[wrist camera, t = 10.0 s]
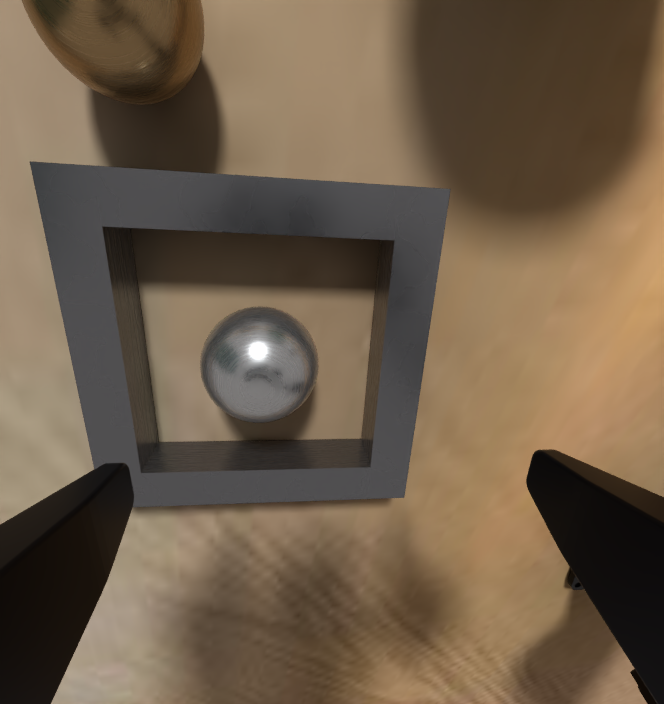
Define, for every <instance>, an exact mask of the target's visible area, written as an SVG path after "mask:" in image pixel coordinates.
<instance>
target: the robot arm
mask: <svg viewBox="0 0 664 704" xmlns="http://www.w3.org/2000/svg"><path fill="white" fill-rule="evenodd" d="M526 483H527V488H528V490H529V492H530V494H531V496H532V498H533V500H534V502H535V504H536V506H537V508H538V510H539V512H540V514H541V515H542V517H543V519H544V521H545V523H546V525H547V527H548V529H549V531H550V533H551V535H552V537H553V539H554V540H555V542H556V544H557V546H558V548H559V550H560V551H561V553H562V555H563V556H564V558H565V560H566V561H567V563H568V565H569V566H570V568H571V569H572V571H571V573H570V576H569V578H568V584H569V585H570V587H571V588H572V589H573V590H582V589H584V590H585V591H586V593H587V594H588V596H589V598H590V599H591V601H592V602H593V604H594V605H595V607H596V609H597V610H598V612H599V613H600V615H601V616H602V618H603V620H604V621H605V623H606V624H607V626H608V627H609V629H610V630H611V632H612V634H613V635H614V637H615V638H616V640H617V641H618V643H619V645H620V646H621V648H622V649H623V651H624V652H625V654H626V656H627V657H628V659H629V660H630V662H631V663H632V665H633V667H634V668H635V669H634V670H632V671H631V674H632V676H633V678H634V679H635V681H636V682H637V684H638V688H639V690H640V692H641V694H642V695H643V697H644V699H645V700H646V702H647V703H648V704H664V497H662V496H659V495H657V494H655V493H653V492H650V491H648V490H646V489H643V488H641V487H639V486H637V485H634V484H632V483H630V482H627V481H625V480H623V479H621V478H618V477H616V476H614V475H611V474H609V473H607V472H605V471H602V470H600V469H598V468H595V467H593V466H591V465H589V464H586V463H584V462H582V461H579V460H577V459H575V458H572V457H570V456H568V455H566V454H563V453H561V452H559V451H556V450H552V449H551V450H537V451H535V452H534V454H533V456H532V460H531V463H530V467H529V471H528V475H527V479H526ZM133 503H134V491H133V486H132V481H131V475H130V470H129V467H128V465H127V464H125V463H106V464H103V465H101V466H99V467H98V468H96V469H94V470H93V471H91V472H89V473H87V474H86V475H84V476H82V477H81V478H79V479H77V480H76V481H74V482H72V483H70V484H69V485H67V486H65V487H64V488H62V489H60V490H59V491H57V492H55V493H53V494H52V495H50V496H48V497H47V498H45V499H43V500H41V501H40V502H38V503H36V504H35V505H33V506H31V507H30V508H28V509H26V510H24V511H23V512H21V513H19V514H18V515H16V516H14V517H13V518H11V519H9V520H7V521H6V522H4V523H2V524H1V525H0V704H51V702H52V700H53V698H54V696H55V693H56V691H57V689H58V687H59V685H60V683H61V680H62V678H63V676H64V674H65V672H66V670H67V667H68V665H69V663H70V661H71V659H72V657H73V654H74V652H75V650H76V648H77V646H78V643H79V641H80V639H81V637H82V635H83V633H84V630H85V628H86V626H87V624H88V622H89V620H90V617H91V615H92V613H93V611H94V609H95V607H96V604H97V602H98V600H99V598H100V596H101V594H102V591H103V589H104V587H105V584H106V582H107V580H108V577H109V574H110V571H111V569H112V566H113V563H114V560H115V557H116V554H117V551H118V548H119V545H120V543H121V540H122V537H123V534H124V531H125V528H126V525H127V522H128V519H129V516H130V513H131V510H132V507H133Z"/></svg>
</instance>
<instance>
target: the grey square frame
mask: <svg viewBox="0 0 664 704" xmlns="http://www.w3.org/2000/svg"><path fill="white" fill-rule="evenodd" d="M30 165H31V170H32V175H33V179H34V184H35V189H36V194H37V198H38V203H39V208H40V213H41V217H42V222H43V227H44V232H45V236H46V241H47V246H48V251H49V255H50V260H51V265H52V270H53V274H54V279H55V284H56V289H57V293H58V298H59V303H60V308H61V312H62V317H63V322H64V327H65V331H66V336H67V341H68V346H69V350H70V355H71V360H72V365H73V370H74V374H75V379H76V384H77V389H78V393H79V398H80V403H81V408H82V412H83V417H84V422H85V427H86V431H87V436H88V441H89V446H90V450H91V455H92V460H93V465H94V469H96V468H98V467H99V466H101V465H103V464H106V463H125V464H127V465H128V467H129V470H130V475H131V481H132V486H133V491H134V503H133V507H153V506H181V505H209V504H238V503H266V502H294V501H322V500H350V499H379V498H404V495H405V489H406V482H407V475H408V469H409V462H410V455H411V449H412V442H413V435H414V429H415V422H416V415H417V409H418V402H419V395H420V389H421V382H422V375H423V369H424V362H425V355H426V349H427V342H428V335H429V329H430V322H431V315H432V309H433V302H434V295H435V289H436V282H437V275H438V269H439V262H440V256H441V249H442V242H443V236H444V229H445V222H446V216H447V209H448V202H449V196H450V189H441V188H426V187H410V186H395V185H380V184H365V183H349V182H334V181H319V180H303V179H288V178H273V177H258V176H242V175H227V174H212V173H197V172H181V171H166V170H151V169H135V168H120V167H105V166H90V165H74V164H59V163H44V162H30ZM130 228H145V229H166V230H187V231H208V232H229V233H250V234H271V235H292V236H313V237H334V238H355V239H376V240H380V247H379V257H378V268H377V279H376V290H375V300H374V311H373V322H372V333H371V343H370V354H369V365H368V376H367V386H366V397H365V408H364V419H363V429H362V439H332V440H270V441H208V442H159V441H158V434H157V426H156V419H155V411H154V403H153V396H152V388H151V381H150V373H149V366H148V358H147V351H146V343H145V336H144V328H143V320H142V313H141V305H140V298H139V290H138V283H137V275H136V268H135V260H134V253H133V245H132V237H131V230H130Z"/></svg>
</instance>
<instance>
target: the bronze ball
mask: <svg viewBox="0 0 664 704" xmlns="http://www.w3.org/2000/svg"><path fill="white" fill-rule="evenodd" d="M22 2H23V5H24V8H25V10H26V12H27V14H28V16H29V18H30V21H31V22H32V24H33V26H34V28H35V29H36V31H37V33H38V34H39V36H40V38H41V39H42V41H43V42H44V43H45V45H46V46H47V48H48V49H49V50H50V51H51V53H52V54H53V55H54V56H55V57H56V58H57V60H58V61H59V62H60V63H61V64H62V65H63V66H64V67H65V68H66V69H67V70H68V71H69V72H70V73H71V74H72V75H74V76H75V77H76V78H77V79H79V80H80V81H81V82H83V83H84V84H85V85H87V86H88V87H90V88H91V89H93V90H95V91H97V92H98V93H100V94H102V95H105V96H107V97H109V98H112V99H114V100H117V101H121V102H124V103H130V104H144V105H147V104H154V103H158V102H162V101H165V100H167V99H169V98H171V97H173V96H174V95H176V94H177V93H178V92H180V91H181V90H182V89H183V88H184V87H185V86H186V85H187V84H188V82H189V81H190V80H191V78H192V77H193V75H194V73H195V71H196V69H197V67H198V64H199V62H200V59H201V55H202V50H203V43H204V17H203V9H202V4H201V0H22Z"/></svg>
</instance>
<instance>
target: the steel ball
mask: <svg viewBox="0 0 664 704" xmlns="http://www.w3.org/2000/svg"><path fill="white" fill-rule="evenodd" d="M318 367H319V365H318V354H317V349H316V346H315V343H314V341H313V339H312V337H311V335H310V334H309V332H308V331H307V329H306V328H305V327H304V326H303V325H302V324H301V323H300V322H299V321H298V320H297V319H296V318H294V317H293V316H291V315H290V314H288V313H286V312H284V311H281V310H278V309H275V308H270V307H250V308H245V309H242V310H238V311H236V312H234V313H232V314H230V315H228V316H227V317H225V318H224V319H222V320H221V321H220V322H219V323H218V324H217V325H216V326H215V327H214V328H213V330H212V331H211V332H210V334H209V335H208V337H207V339H206V341H205V343H204V346H203V350H202V353H201V360H200V370H201V377H202V381H203V384H204V386H205V388H206V391H207V393H208V394H209V396H210V398H211V399H212V400H213V401H214V403H215V404H216V405H217V406H218V407H219V408H221V409H222V410H223V411H224V412H226V413H227V414H229V415H231V416H233V417H234V418H237V419H240V420H243V421H247V422H254V423H264V422H271V421H275V420H278V419H281V418H283V417H286V416H288V415H289V414H291V413H292V412H294V411H295V410H297V409H298V408H299V407H300V406H301V405H302V404H303V403H304V402H305V401H306V399H307V398H308V397H309V395H310V393H311V392H312V390H313V388H314V385H315V383H316V379H317V375H318Z"/></svg>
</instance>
